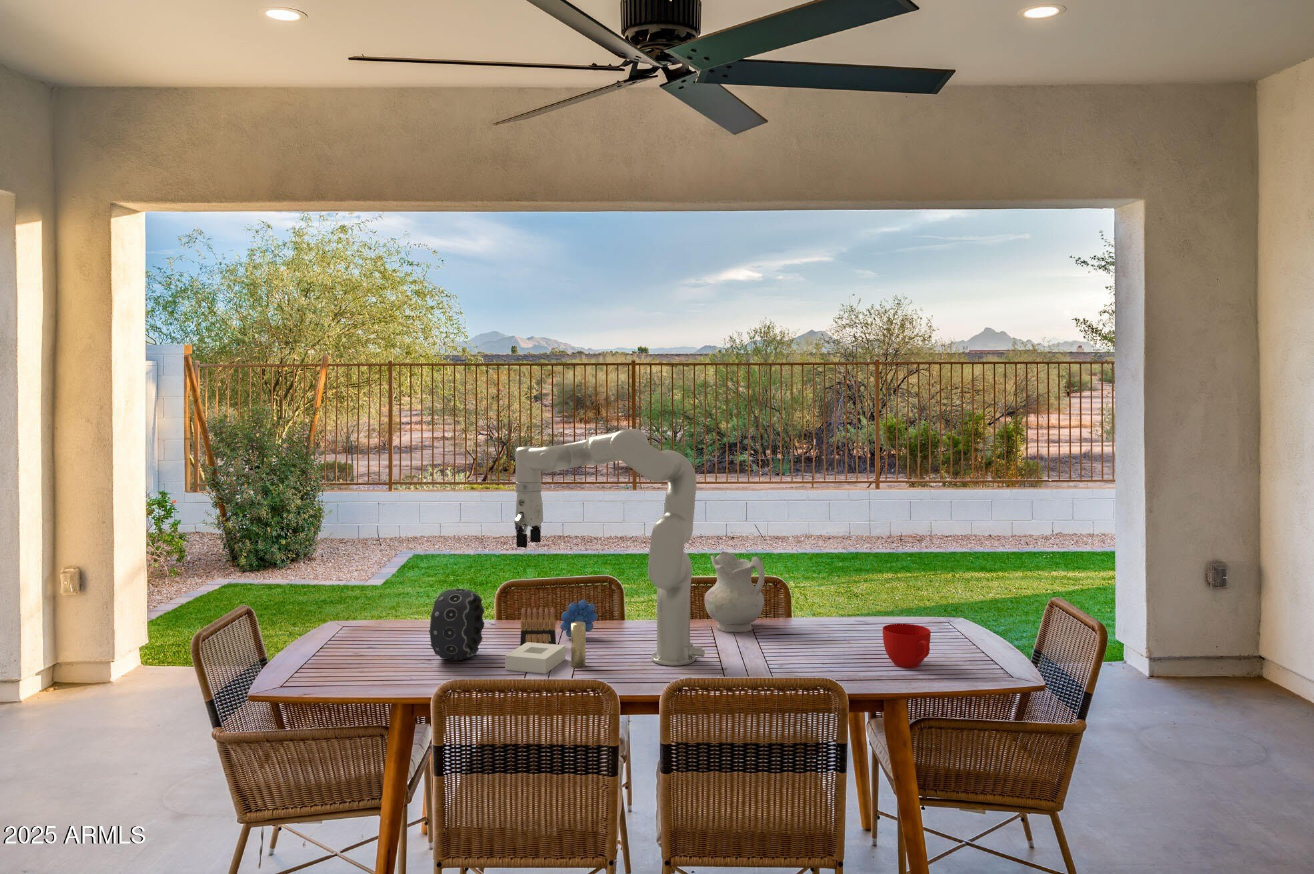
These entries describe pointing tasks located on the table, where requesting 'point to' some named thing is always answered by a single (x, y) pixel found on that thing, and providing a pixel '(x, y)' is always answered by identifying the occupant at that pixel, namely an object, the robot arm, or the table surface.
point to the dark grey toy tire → (456, 624)
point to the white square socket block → (535, 657)
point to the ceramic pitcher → (735, 593)
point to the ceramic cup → (906, 644)
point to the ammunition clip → (538, 627)
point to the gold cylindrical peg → (578, 645)
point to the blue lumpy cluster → (578, 616)
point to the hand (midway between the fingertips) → (528, 544)
